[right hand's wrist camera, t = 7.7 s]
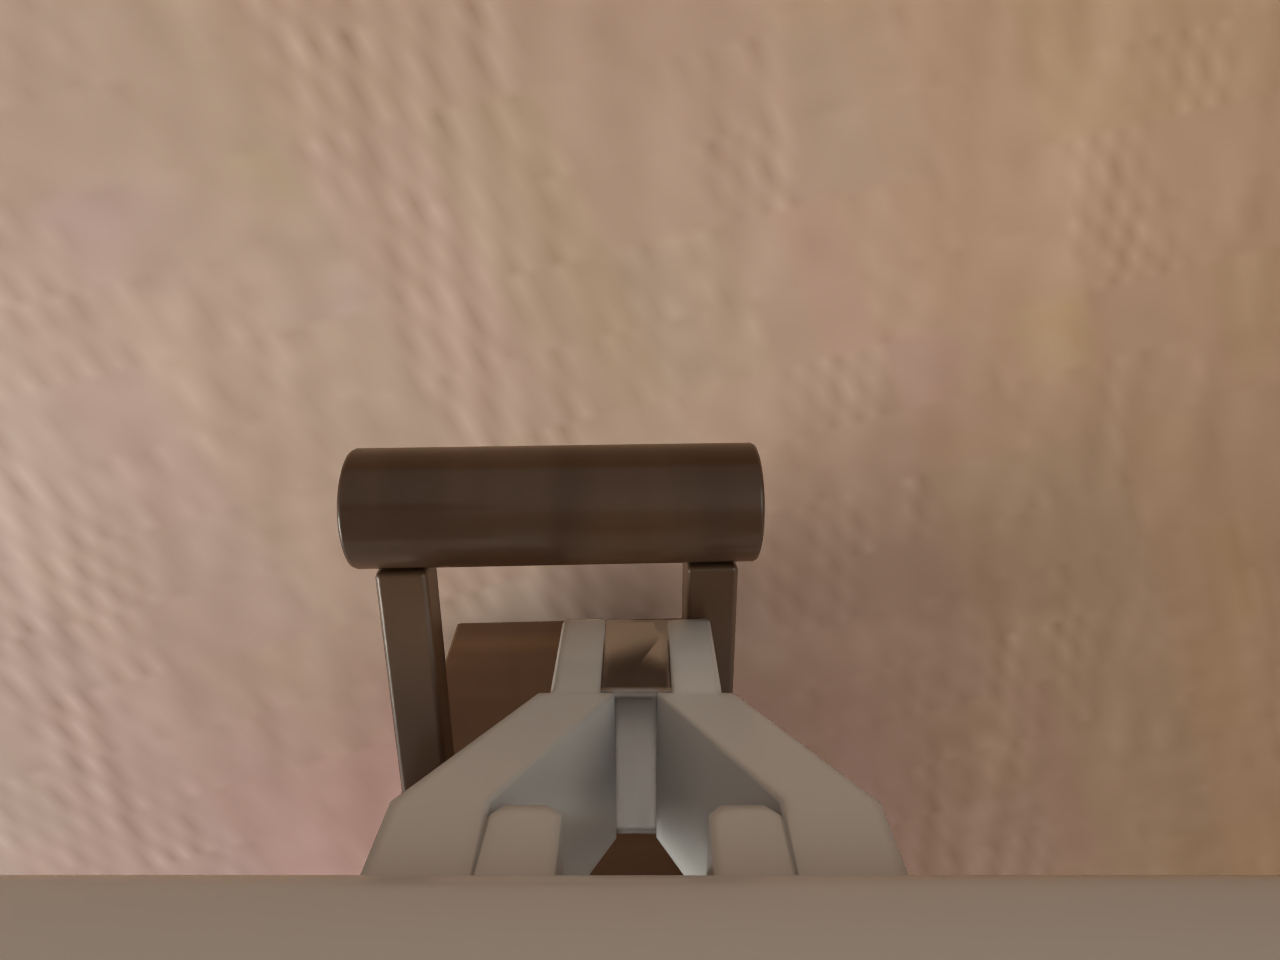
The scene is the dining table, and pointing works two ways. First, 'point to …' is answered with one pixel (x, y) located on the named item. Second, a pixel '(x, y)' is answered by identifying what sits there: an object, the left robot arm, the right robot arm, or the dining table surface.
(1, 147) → the dining table surface
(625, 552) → the wooden drawer
